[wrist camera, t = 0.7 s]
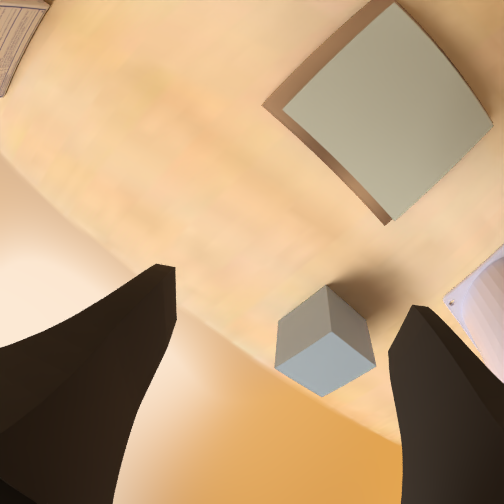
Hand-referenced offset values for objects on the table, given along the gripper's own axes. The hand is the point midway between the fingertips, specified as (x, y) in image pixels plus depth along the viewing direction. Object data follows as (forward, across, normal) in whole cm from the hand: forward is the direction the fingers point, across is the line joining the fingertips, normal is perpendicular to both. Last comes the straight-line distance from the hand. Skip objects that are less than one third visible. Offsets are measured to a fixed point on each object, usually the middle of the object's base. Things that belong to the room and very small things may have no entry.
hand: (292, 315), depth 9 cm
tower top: (+9, -4, -6) cm, 12 cm away
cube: (+10, -4, +9) cm, 14 cm away
